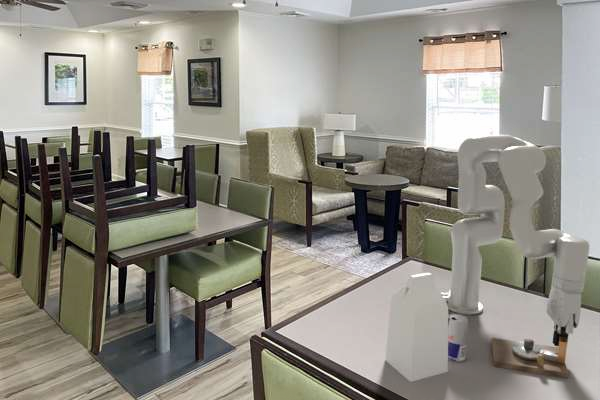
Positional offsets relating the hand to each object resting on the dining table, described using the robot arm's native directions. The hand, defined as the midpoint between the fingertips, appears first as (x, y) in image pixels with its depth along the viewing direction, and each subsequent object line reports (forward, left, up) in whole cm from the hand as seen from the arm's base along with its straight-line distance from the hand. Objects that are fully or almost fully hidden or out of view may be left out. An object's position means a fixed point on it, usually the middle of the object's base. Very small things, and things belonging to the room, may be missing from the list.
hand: (559, 344), depth 134 cm
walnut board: (-8, -3, -4) cm, 10 cm away
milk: (-37, -16, -5) cm, 41 cm away
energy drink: (-27, -8, -5) cm, 29 cm away
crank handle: (-6, -3, -3) cm, 7 cm away
